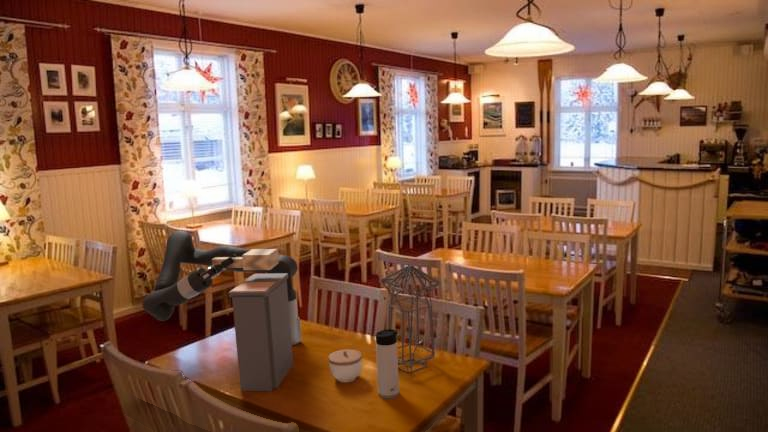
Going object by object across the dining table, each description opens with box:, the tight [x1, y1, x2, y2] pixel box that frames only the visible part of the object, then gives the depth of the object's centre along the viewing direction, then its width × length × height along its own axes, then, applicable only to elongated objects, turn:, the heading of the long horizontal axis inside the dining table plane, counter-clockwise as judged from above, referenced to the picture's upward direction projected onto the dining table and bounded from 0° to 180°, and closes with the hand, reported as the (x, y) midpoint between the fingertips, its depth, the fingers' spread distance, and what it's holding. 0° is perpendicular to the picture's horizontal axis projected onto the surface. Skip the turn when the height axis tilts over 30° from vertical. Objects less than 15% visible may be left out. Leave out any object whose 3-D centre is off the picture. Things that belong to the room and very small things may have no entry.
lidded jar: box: [328, 349, 363, 383], centre depth 187 cm, size 11×11×9 cm
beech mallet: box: [212, 248, 279, 270], centre depth 192 cm, size 21×9×5 cm, turn 82°
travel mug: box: [375, 328, 400, 400], centre depth 173 cm, size 6×7×20 cm
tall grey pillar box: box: [228, 273, 294, 392], centre depth 190 cm, size 12×22×32 cm, turn 172°
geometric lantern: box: [378, 264, 441, 374], centre depth 191 cm, size 16×16×35 cm
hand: (234, 258), depth 193 cm, fingers closed on beech mallet, 3 cm apart
